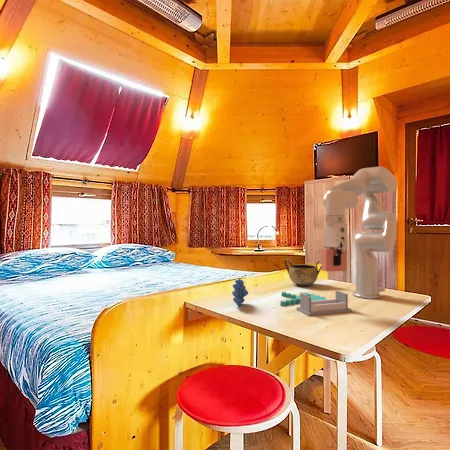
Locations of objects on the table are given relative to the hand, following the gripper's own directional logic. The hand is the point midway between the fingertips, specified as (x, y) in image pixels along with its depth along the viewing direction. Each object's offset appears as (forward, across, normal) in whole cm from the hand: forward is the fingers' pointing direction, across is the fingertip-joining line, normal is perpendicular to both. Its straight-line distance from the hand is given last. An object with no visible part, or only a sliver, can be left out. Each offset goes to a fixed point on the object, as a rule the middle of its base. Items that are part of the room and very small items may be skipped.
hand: (334, 264), depth 130 cm
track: (+19, +1, +4) cm, 19 cm away
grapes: (+20, +19, +34) cm, 43 cm away
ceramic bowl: (+18, +48, -16) cm, 54 cm away
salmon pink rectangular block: (+3, 0, 0) cm, 3 cm away
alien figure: (+20, +17, +4) cm, 26 cm away
